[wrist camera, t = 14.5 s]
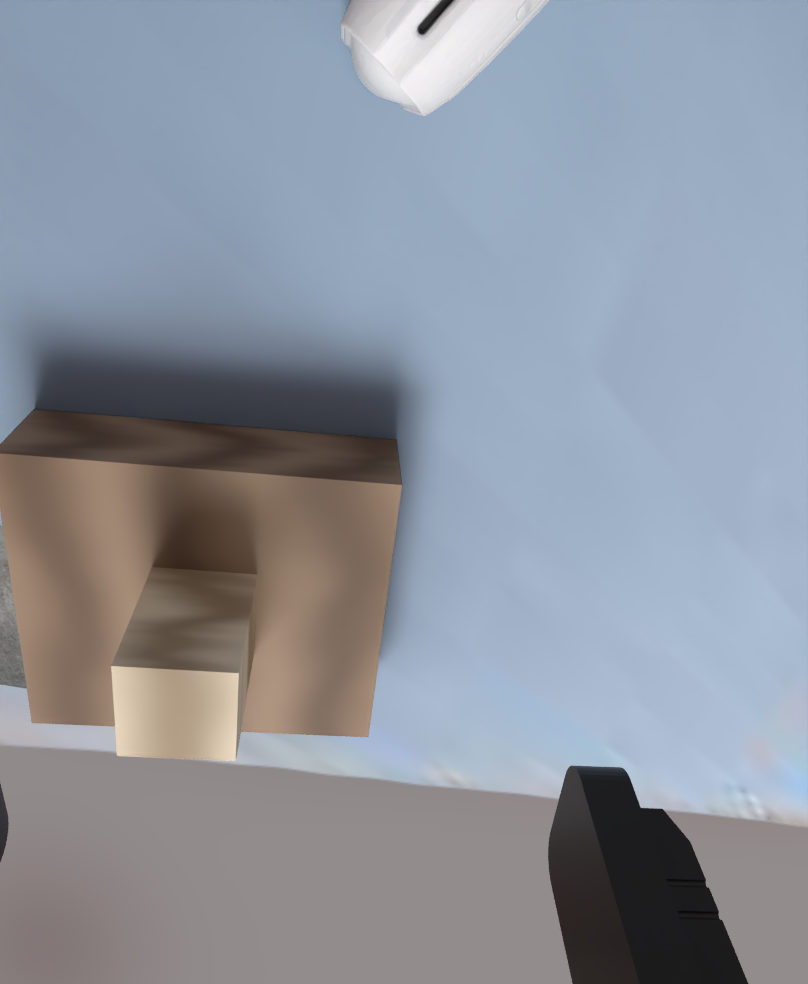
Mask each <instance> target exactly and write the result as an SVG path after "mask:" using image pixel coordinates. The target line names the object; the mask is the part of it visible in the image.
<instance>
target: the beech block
mask: <svg viewBox="0 0 808 984" xmlns="http://www.w3.org/2000/svg"><path fill="white" fill-rule="evenodd" d="M257 578H258V575H257V574H243V573H229V572H215V571H201V570H187V569H173V568H159V567H152V568H151V570H150V573H149V575H148V577H147V580H146V582H145V585H144V587H143V590H142V592H141V595H140V597H139V599H138V602H137V604H136V607H135V609H134V612H133V614H132V616H131V619H130V621H129V624H128V626H127V629H126V631H125V633H124V636H123V638H122V641H121V643H120V646H119V648H118V650H117V653H116V655H115V658H114V660H113V663H112V665H111V672H112V687H113V702H114V717H115V732H116V746H117V756H132V757H155V758H177V759H200V760H222V761H236V756H237V751H238V745H239V739H240V733H241V727H242V721H243V716H244V710H245V704H246V698H247V692H248V686H249V681H250V675H251V669H252V663H253V657H254V643H255V622H256V600H257Z"/></svg>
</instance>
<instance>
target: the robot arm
mask: <svg viewBox="0 0 808 984" xmlns="http://www.w3.org/2000/svg"><path fill="white" fill-rule="evenodd" d="M7 834H8V814H7V809H6V805H5V801H4V797H3V793H2V789H1V784H0V861H1V859H2V856H3V853H4V849H5V845H6V841H7ZM548 861H549V872H550V880H551V885H552V890H553V894H554V899H555V904H556V908H557V913H558V917H559V922H560V927H561V931H562V936H563V941H564V946H565V950H566V955H567V959H568V964H569V969H570V973H571V978H572V983H573V984H748V982H747V980H746V977H745V975H744V972H743V970H742V968H741V965H740V962H739V960H738V958H737V955H736V953H735V950H734V948H733V945H732V943H731V940H730V938H729V936H728V933H727V931H726V928H725V926H724V923H723V921H722V920H720V919H719V916H718V913H719V911H718V909H717V906H716V904H715V902H714V899H713V897H712V894H711V892H710V889H709V888H707V887H706V883H705V881H706V879H705V877H704V875H703V872H702V870H701V867H700V865H699V862H698V860H697V858H696V855H695V852H694V850H693V848H692V845H691V843H690V841H689V840H688V839H687V838H686V836H685V835H684V834H683V833H682V832H681V830H680V829H679V828H678V827H677V826H676V824H674V822H673V821H672V820H671V819H670V817H669V816H668V815H667V814H666V813H665V811H664V810H663V809H650V808H640V805H639V802H638V800H637V797H636V794H635V791H634V789H633V786H632V783H631V780H630V778H629V776H628V774H627V772H626V771H625V770H624V769H623V768H620V767H592V766H570V767H569V768H568V770H567V772H566V775H565V779H564V783H563V787H562V790H561V794H560V798H559V802H558V806H557V809H556V813H555V817H554V821H553V825H552V828H551V832H550V837H549V847H548Z"/></svg>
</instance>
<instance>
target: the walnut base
mask: <svg viewBox="0 0 808 984" xmlns="http://www.w3.org/2000/svg"><path fill="white" fill-rule="evenodd" d="M401 490H402V480H401V472H400V463H399V455H398V447H397V440H392V439H380V438H369V437H357V436H345V435H333V434H322V433H310V432H298V431H286V430H275V429H263V428H251V427H239V426H228V425H216V424H204V423H192V422H181V421H169V420H157V419H145V418H134V417H122V416H110V415H98V414H87V413H75V412H63V411H51V410H40V409H34V410H33V411H32V412H31V413H30V414H29V415H28V416H27V417H26V418H25V419H24V420H23V421H22V422H21V423H20V424H19V425H18V426H17V427H16V428H15V429H14V430H13V431H12V433H11V434H10V435H9V436H8V437H7V438H6V439H5V440H4V441H3V442H2V443H1V444H0V510H1V517H2V524H3V530H4V537H5V544H6V551H7V558H8V564H9V571H10V578H11V585H12V591H13V598H14V605H15V612H16V618H17V625H18V632H19V639H20V645H21V652H22V659H23V666H24V672H25V679H26V686H27V693H28V699H29V706H30V713H31V720H32V723H47V724H70V725H94V726H115V717H114V702H113V687H112V672H111V665H112V663H113V660H114V658H115V655H116V653H117V650H118V648H119V646H120V643H121V641H122V638H123V636H124V633H125V631H126V629H127V626H128V624H129V621H130V619H131V616H132V614H133V612H134V609H135V607H136V604H137V602H138V599H139V597H140V595H141V592H142V590H143V587H144V585H145V582H146V580H147V577H148V575H149V573H150V570H151V568H152V567H159V568H173V569H187V570H201V571H215V572H229V573H243V574H257V575H258V578H257V600H256V622H255V643H254V657H253V663H252V669H251V675H250V681H249V686H248V692H247V698H246V704H245V710H244V716H243V721H242V727H241V732H259V733H282V734H306V735H329V736H353V737H368V736H369V728H370V721H371V714H372V706H373V699H374V691H375V684H376V676H377V669H378V661H379V654H380V646H381V639H382V631H383V624H384V617H385V609H386V602H387V594H388V587H389V579H390V572H391V564H392V557H393V549H394V542H395V535H396V527H397V520H398V512H399V505H400V497H401Z"/></svg>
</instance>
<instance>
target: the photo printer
mask: <svg viewBox="0 0 808 984" xmlns="http://www.w3.org/2000/svg"><path fill="white" fill-rule="evenodd" d="M549 1H550V0H351V2H350V4H349V6H348V8H347V10H346V12H345V14H344V16H343V19H342V21H341V34H342V40H343V42H344V43H345V44H346V45H347V46H348V47H349V48H350V51H351V57H352V62H353V65H354V68H355V70H356V73H357V75H358V77H359V78H360V80H361V81H362V82H363V84H364V85H365V86H366V87H367V88H368V89H369V90H370V91H371V92H373V93H374V94H375V95H377V96H379V97H381V98H383V99H386V100H390V101H394V102H398V103H399V104H400V105H401V106H402V108H403V109H405V110H407V111H410V112H413V113H416V114H418V115H421V116H426V115H428V114H429V113H431V112H433V111H434V110H436V109H437V108H439V107H440V106H441V105H443V104H444V103H445V102H447V101H449V100H451V99H452V98H453V97H454V96H456V95H457V94H458V93H459V92H460V91H461V90H462V89H463V88H465V87H466V86H467V85H468V84H469V83H470V82H471V81H472V80H473V79H474V78H475V77H476V76H477V75H478V74H479V73H480V72H481V71H482V70H483V69H485V68H486V67H487V66H488V65H489V64H490V63H491V62H492V61H493V60H494V59H495V57H496V56H497V55H498V54H499V53H500V52H501V51H502V50H503V49H504V48H505V47H506V46H507V45H508V44H509V43H510V42H511V41H512V40H513V39H514V38H515V37H516V36H517V35H518V34H519V33H520V32H521V31H522V30H523V28H524V27H525V26H526V25H527V24H528V23H529V22H530V21H531V20H532V19H533V18H534V17H535V16H536V15H537V14H538V12H539V11H540V10H541V9H542V8H543V7H544V6H545V5H546V4H547V3H548V2H549Z"/></svg>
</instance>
